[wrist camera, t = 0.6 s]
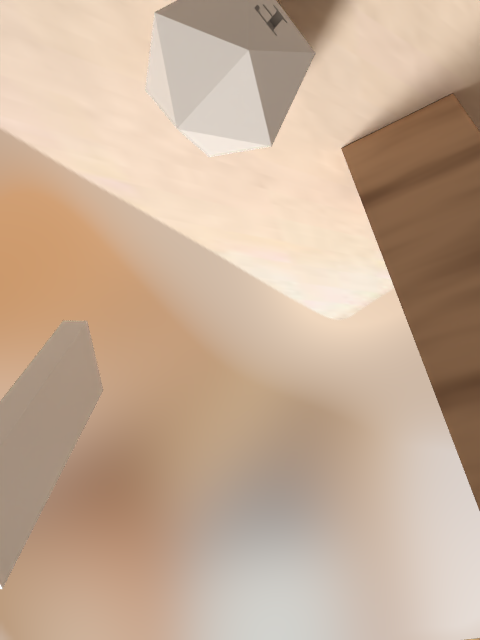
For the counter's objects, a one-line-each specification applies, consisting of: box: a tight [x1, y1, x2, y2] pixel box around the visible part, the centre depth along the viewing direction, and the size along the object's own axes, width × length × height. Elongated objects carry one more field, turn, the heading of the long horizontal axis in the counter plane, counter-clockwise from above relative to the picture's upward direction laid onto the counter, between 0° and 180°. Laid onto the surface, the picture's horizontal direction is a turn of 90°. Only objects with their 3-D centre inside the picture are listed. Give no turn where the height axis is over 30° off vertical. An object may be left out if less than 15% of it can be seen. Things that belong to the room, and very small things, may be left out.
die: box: [145, 0, 315, 157], centre depth 25 cm, size 8×9×10 cm
